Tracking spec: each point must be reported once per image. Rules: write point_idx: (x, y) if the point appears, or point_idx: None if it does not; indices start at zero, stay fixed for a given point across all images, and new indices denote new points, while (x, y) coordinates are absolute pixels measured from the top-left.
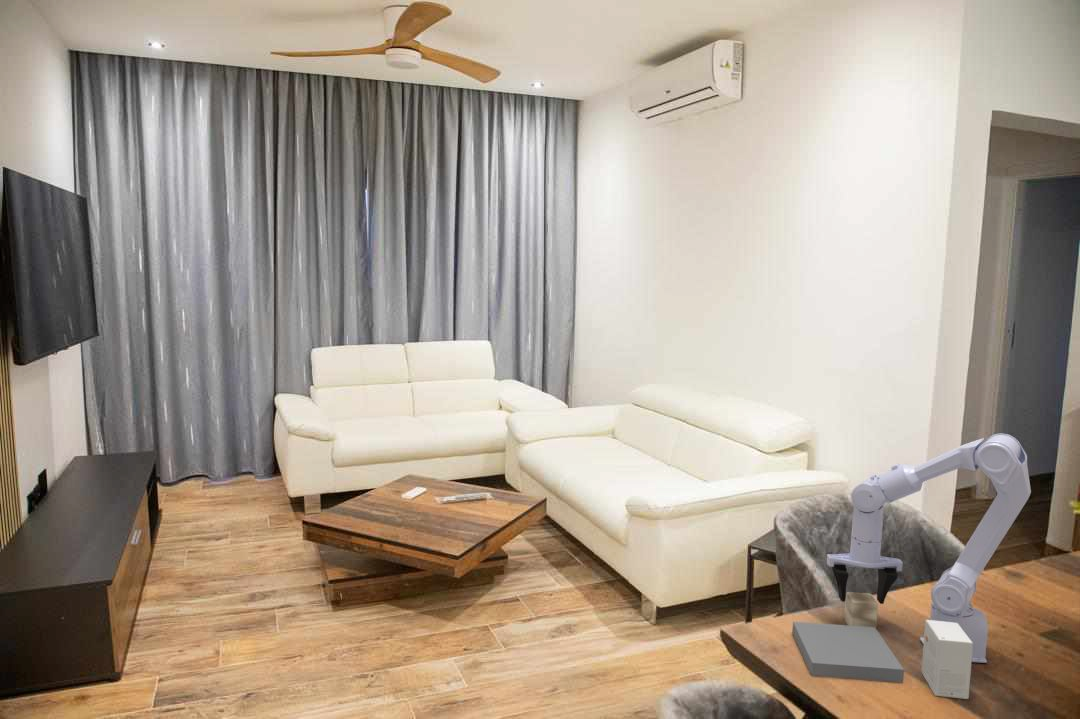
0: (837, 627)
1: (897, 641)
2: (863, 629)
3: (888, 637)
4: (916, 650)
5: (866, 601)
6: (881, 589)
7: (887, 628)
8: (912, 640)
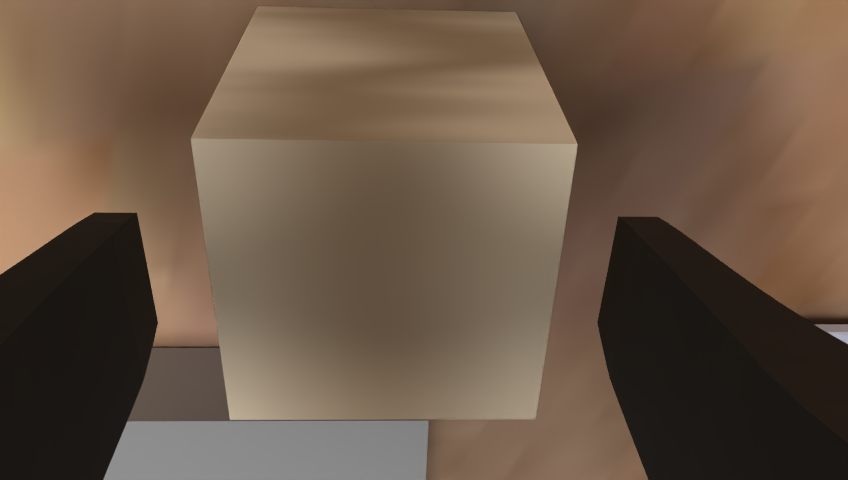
0: None
1: (596, 354)
2: (314, 462)
3: (555, 309)
4: None
5: (413, 382)
6: (669, 440)
7: (629, 165)
8: None
